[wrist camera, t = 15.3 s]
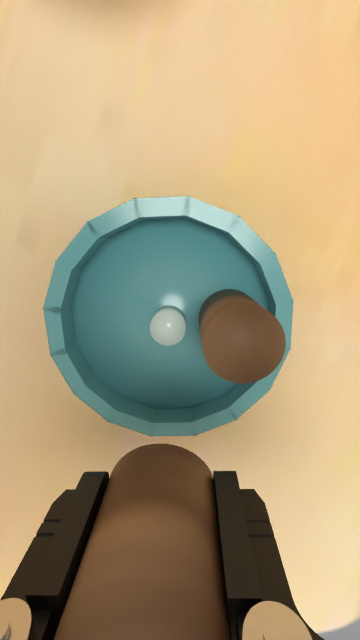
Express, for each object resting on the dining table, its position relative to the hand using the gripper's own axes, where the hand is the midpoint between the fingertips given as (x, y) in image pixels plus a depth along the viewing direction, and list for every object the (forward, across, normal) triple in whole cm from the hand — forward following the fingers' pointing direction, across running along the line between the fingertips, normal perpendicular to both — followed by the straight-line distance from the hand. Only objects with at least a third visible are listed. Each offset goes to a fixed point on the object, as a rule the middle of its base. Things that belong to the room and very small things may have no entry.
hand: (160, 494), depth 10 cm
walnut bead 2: (+9, -3, -4) cm, 11 cm away
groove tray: (+10, 0, -4) cm, 11 cm away
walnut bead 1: (0, 0, 0) cm, 0 cm away
